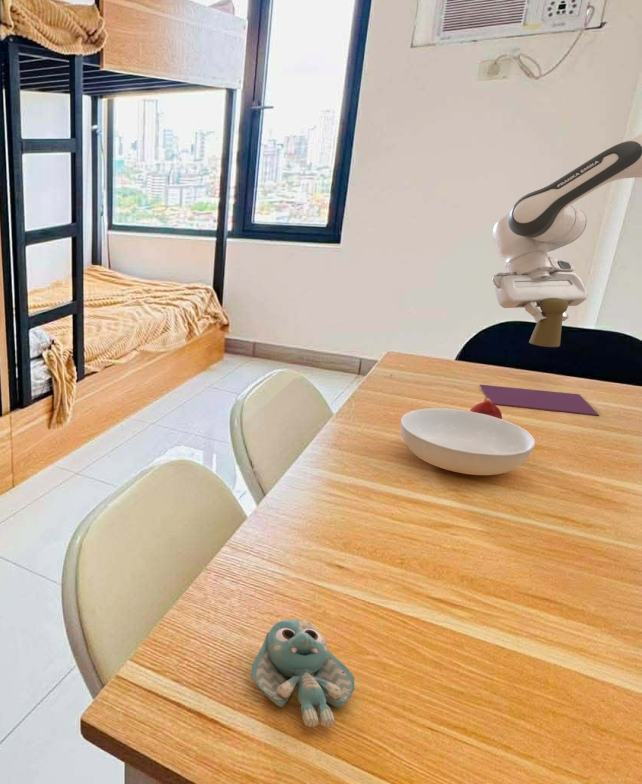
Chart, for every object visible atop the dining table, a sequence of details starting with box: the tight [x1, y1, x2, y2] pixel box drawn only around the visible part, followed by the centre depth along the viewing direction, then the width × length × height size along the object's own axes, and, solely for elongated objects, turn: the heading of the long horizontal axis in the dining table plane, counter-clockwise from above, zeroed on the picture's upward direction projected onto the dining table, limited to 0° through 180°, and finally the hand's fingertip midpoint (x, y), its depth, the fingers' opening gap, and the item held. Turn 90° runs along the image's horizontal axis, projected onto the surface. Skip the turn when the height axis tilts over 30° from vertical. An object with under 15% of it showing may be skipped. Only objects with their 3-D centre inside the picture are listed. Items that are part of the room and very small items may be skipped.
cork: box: [528, 298, 569, 348], centre depth 149 cm, size 6×6×11 cm
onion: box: [469, 397, 503, 420], centre depth 126 cm, size 6×6×8 cm
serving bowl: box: [400, 407, 536, 476], centre depth 115 cm, size 21×21×7 cm
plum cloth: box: [479, 383, 600, 417], centre depth 146 cm, size 20×14×1 cm
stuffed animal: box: [250, 619, 355, 728], centre depth 66 cm, size 11×7×12 cm
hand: (552, 320), depth 149 cm, fingers closed on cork, 4 cm apart
